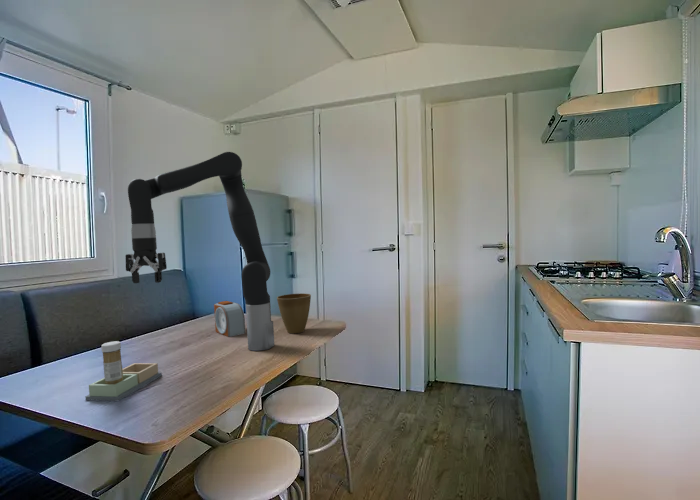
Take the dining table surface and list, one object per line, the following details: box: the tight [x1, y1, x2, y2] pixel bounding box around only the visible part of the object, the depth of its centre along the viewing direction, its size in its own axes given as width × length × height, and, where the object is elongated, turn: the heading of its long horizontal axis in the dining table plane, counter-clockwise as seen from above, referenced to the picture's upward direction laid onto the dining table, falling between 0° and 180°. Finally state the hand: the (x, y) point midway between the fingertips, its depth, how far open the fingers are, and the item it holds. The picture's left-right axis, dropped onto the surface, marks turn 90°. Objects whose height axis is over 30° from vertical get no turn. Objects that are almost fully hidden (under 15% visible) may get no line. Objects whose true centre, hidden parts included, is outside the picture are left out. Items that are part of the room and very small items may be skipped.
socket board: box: [84, 362, 163, 402], centre depth 110 cm, size 10×18×4 cm, turn 171°
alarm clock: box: [213, 300, 247, 338], centre depth 168 cm, size 15×8×14 cm, turn 43°
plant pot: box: [276, 292, 312, 335], centre depth 164 cm, size 15×15×16 cm
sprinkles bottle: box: [101, 340, 123, 384], centre depth 105 cm, size 5×5×13 cm
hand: (147, 282), depth 131 cm, fingers open, 8 cm apart
